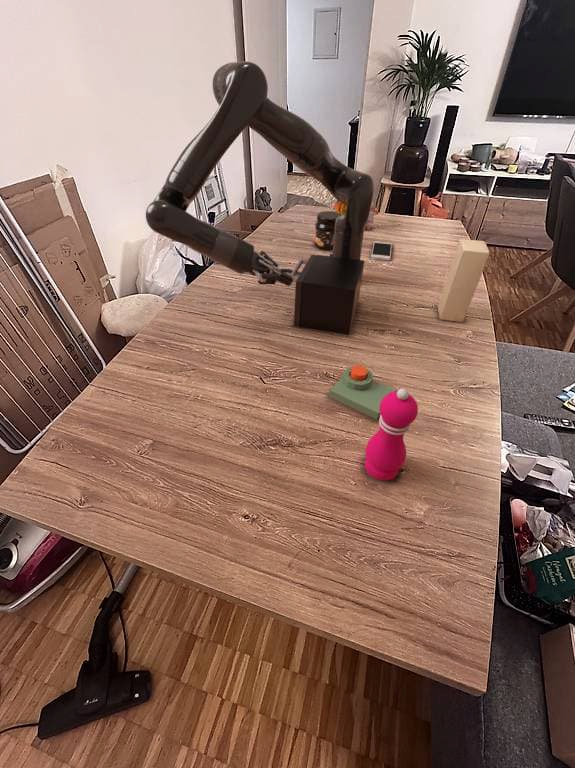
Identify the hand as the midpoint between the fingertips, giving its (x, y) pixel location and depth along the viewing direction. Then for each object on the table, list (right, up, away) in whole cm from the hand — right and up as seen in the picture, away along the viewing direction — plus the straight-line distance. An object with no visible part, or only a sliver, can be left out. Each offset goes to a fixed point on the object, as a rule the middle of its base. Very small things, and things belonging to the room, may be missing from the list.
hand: (291, 281), depth 98 cm
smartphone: (+36, +25, +49) cm, 66 cm away
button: (+15, -25, -12) cm, 32 cm away
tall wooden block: (+48, -6, +15) cm, 51 cm away
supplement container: (+15, +29, +53) cm, 62 cm away
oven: (+12, -6, +14) cm, 19 cm away
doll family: (+27, +42, +68) cm, 84 cm away
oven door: (+3, -4, +16) cm, 17 cm away
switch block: (+16, -30, -12) cm, 36 cm away
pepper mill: (+17, -43, -26) cm, 53 cm away
